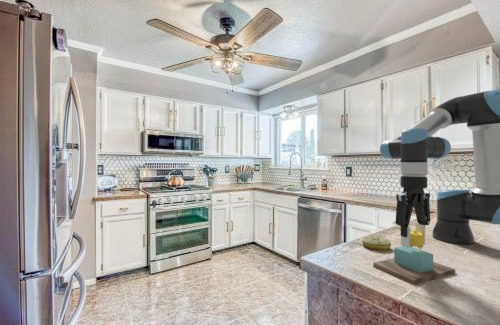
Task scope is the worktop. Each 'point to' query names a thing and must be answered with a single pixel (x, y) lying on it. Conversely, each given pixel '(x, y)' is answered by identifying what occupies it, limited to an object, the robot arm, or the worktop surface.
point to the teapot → (416, 239)
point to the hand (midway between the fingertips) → (413, 244)
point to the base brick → (413, 259)
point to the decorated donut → (376, 243)
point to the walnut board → (413, 271)
